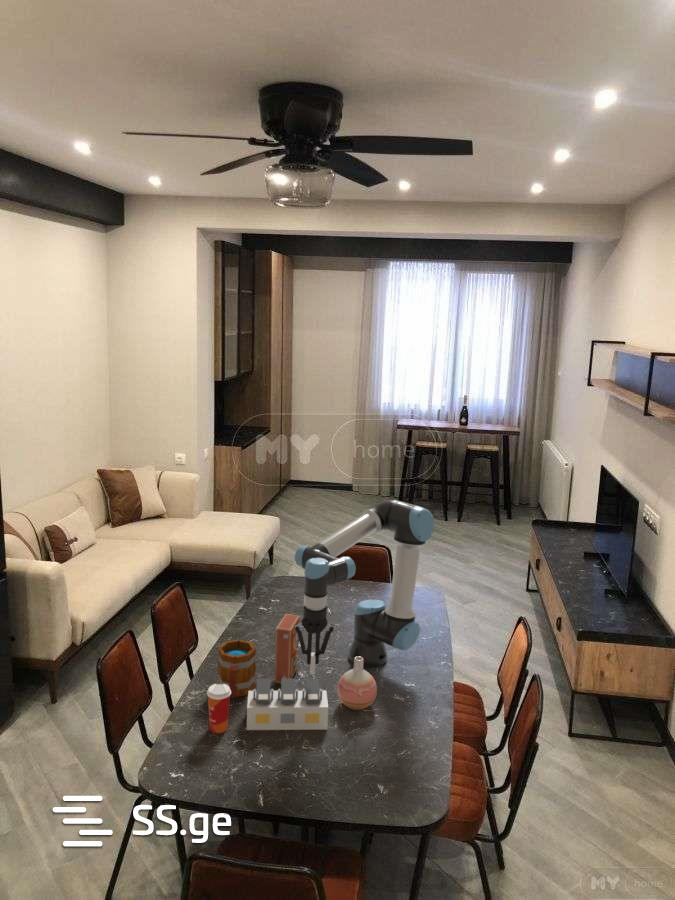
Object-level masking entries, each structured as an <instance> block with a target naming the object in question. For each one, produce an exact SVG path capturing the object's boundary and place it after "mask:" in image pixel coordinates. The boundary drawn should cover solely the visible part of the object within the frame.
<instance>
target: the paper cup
mask: <svg viewBox="0 0 675 900" xmlns="http://www.w3.org/2000/svg"><path fill="white" fill-rule="evenodd" d="M206 695H207V702H208V719H209V721H208V722H209V730H210V732H211V733H213V734H223V733H226V731H227V730H228V725H229V714H230V713H229V712H230V701H231V697H230V695H231V690H230V687H229V686H228V685H226V684H218V683H214V684H212V685H210V686H209V687H208V689H207V691H206Z"/></svg>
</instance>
